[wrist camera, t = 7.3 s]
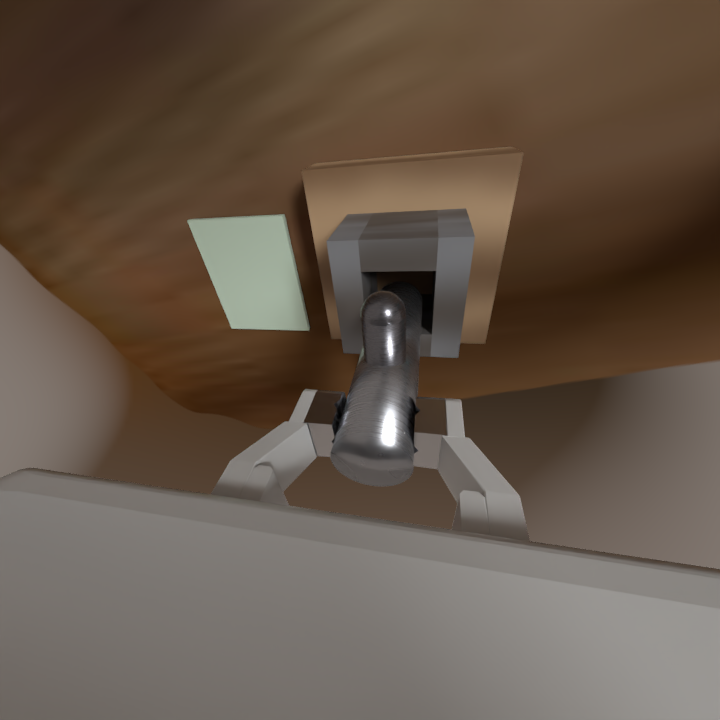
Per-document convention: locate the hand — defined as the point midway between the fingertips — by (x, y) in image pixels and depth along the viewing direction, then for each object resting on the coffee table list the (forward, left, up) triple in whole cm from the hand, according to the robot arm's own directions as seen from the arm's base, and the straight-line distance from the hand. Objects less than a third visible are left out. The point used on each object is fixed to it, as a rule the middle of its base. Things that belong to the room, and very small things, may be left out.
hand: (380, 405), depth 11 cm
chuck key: (0, 0, -8) cm, 8 cm away
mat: (+2, -13, -15) cm, 20 cm away
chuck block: (0, 0, -15) cm, 15 cm away
